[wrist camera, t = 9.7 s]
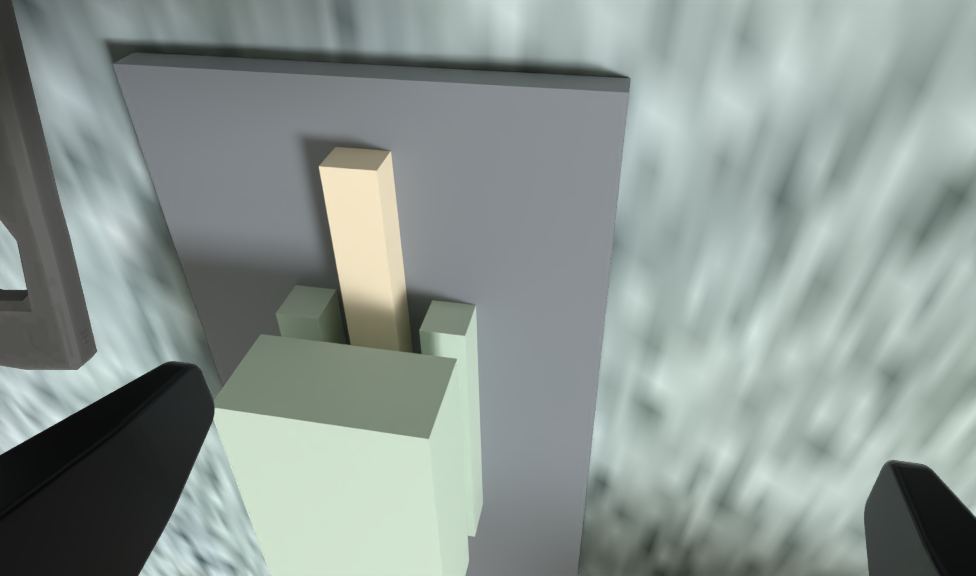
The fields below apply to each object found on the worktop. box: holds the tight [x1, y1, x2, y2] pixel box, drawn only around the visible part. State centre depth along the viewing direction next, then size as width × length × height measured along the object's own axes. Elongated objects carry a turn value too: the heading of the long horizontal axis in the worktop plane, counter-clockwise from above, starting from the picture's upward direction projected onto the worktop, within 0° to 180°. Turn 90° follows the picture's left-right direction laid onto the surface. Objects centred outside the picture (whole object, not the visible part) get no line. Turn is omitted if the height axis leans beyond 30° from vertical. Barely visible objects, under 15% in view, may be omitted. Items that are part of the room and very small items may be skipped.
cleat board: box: [113, 52, 630, 576], centre depth 25 cm, size 14×24×2 cm, turn 1°
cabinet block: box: [213, 285, 483, 576], centre depth 23 cm, size 6×11×6 cm, turn 2°
